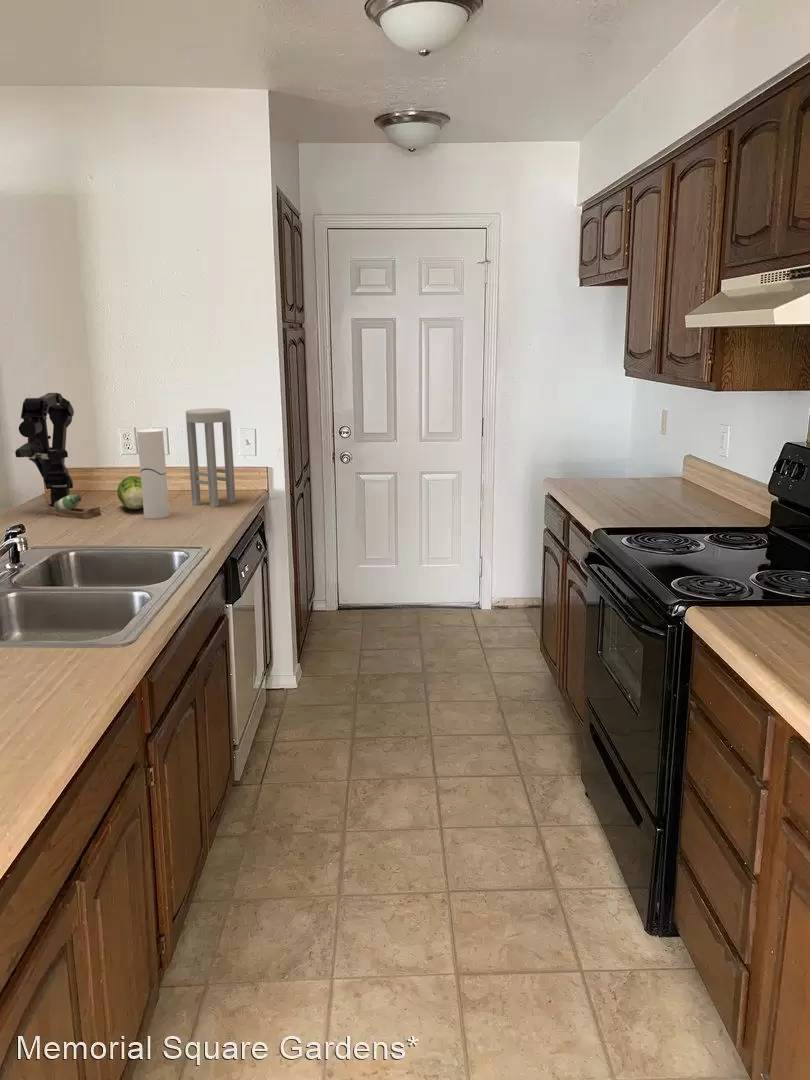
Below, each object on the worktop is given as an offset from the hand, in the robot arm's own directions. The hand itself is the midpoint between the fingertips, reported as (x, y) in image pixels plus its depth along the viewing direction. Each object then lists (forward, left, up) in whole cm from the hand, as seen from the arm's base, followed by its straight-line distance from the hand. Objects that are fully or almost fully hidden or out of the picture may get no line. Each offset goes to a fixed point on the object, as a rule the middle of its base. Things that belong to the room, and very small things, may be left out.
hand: (44, 477), depth 300 cm
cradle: (+1, +15, -13) cm, 20 cm away
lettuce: (-15, +27, -13) cm, 33 cm away
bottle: (+1, +7, -10) cm, 12 cm away
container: (-8, +42, -13) cm, 45 cm away
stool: (-34, +48, -13) cm, 60 cm away
